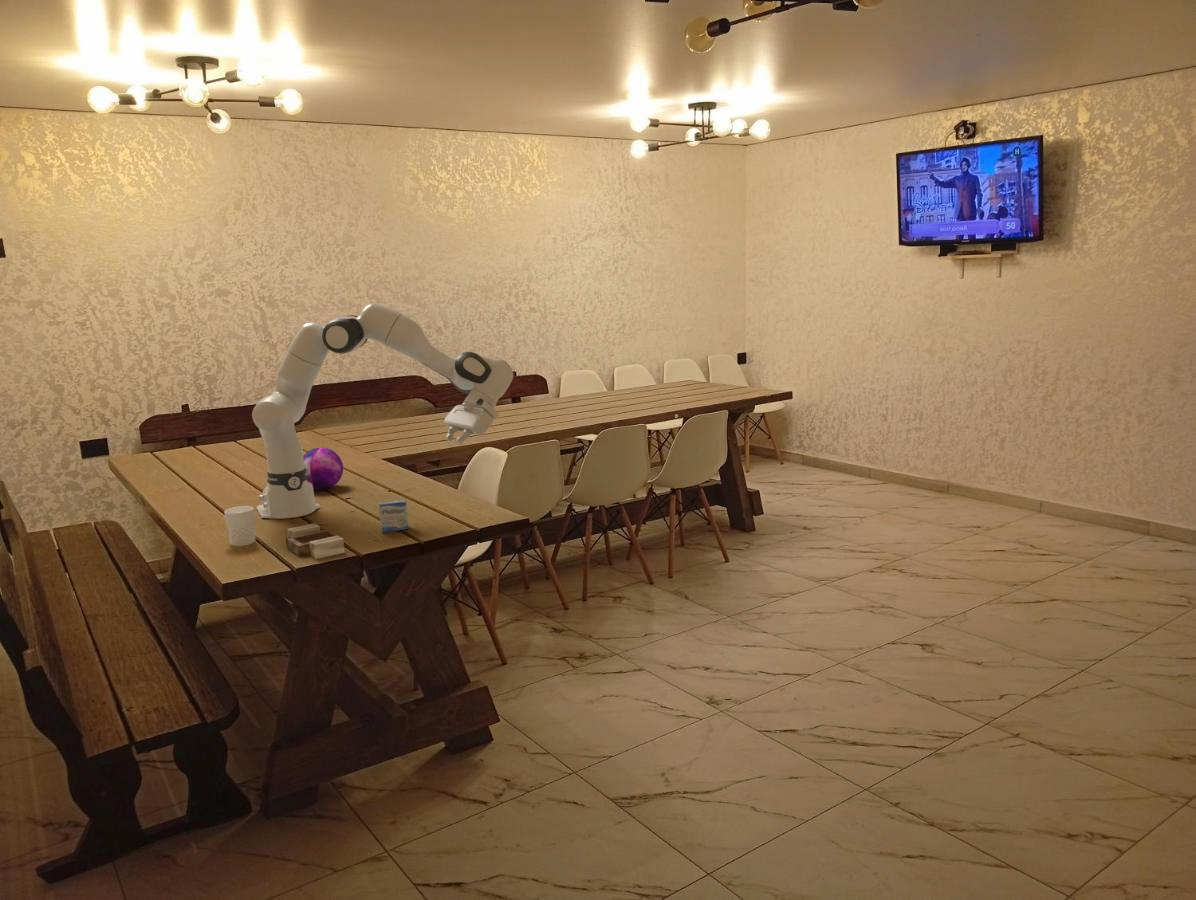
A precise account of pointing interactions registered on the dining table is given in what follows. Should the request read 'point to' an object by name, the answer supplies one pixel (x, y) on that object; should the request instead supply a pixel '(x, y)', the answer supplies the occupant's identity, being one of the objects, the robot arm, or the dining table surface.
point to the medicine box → (393, 515)
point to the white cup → (240, 525)
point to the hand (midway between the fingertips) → (452, 441)
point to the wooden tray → (313, 542)
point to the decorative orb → (323, 468)
